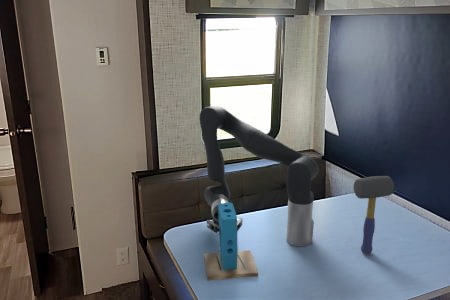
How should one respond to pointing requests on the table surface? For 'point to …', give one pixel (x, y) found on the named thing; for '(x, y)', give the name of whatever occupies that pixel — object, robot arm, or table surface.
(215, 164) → the robot arm
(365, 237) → the rubber mallet
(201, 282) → the table surface
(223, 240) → the block
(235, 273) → the oak board
